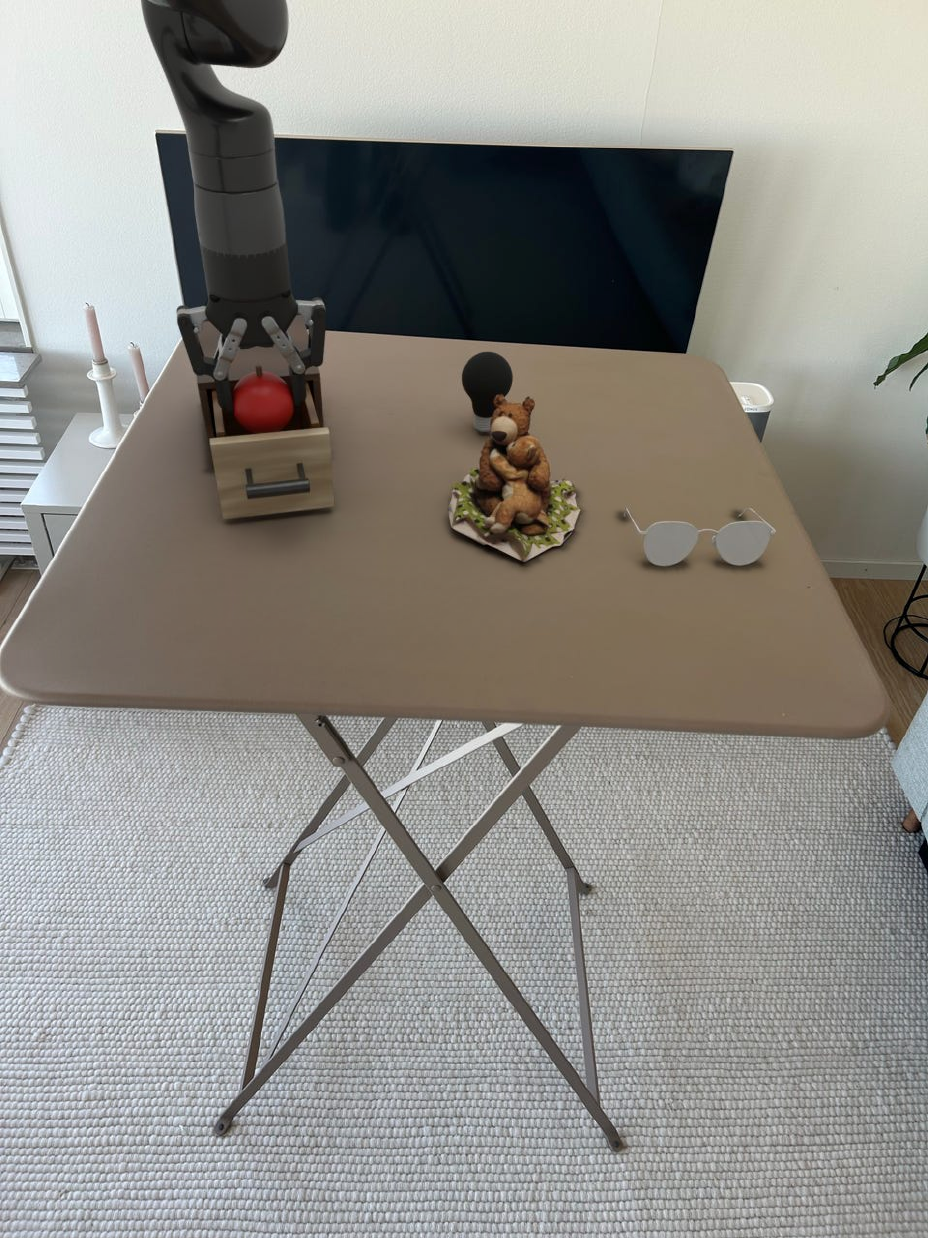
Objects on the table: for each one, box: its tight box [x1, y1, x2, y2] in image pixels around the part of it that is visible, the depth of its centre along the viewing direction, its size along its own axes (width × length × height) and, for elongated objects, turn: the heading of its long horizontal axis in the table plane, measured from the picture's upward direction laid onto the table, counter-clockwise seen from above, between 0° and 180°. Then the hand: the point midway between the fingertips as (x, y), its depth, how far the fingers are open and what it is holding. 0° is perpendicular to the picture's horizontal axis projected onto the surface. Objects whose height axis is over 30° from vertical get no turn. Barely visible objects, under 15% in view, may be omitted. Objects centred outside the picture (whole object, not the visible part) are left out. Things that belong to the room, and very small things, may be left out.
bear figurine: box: [447, 394, 581, 563], centre depth 90 cm, size 14×15×12 cm
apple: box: [232, 365, 294, 434], centre depth 88 cm, size 6×6×7 cm
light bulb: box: [461, 351, 514, 434], centre depth 103 cm, size 6×6×10 cm
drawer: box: [209, 381, 335, 520], centre depth 91 cm, size 18×11×9 cm, turn 15°
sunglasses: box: [623, 507, 777, 567], centre depth 91 cm, size 14×8×5 cm, turn 94°
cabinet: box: [195, 314, 325, 471], centre depth 101 cm, size 15×13×11 cm
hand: (263, 405), depth 89 cm, fingers closed on apple, 6 cm apart
